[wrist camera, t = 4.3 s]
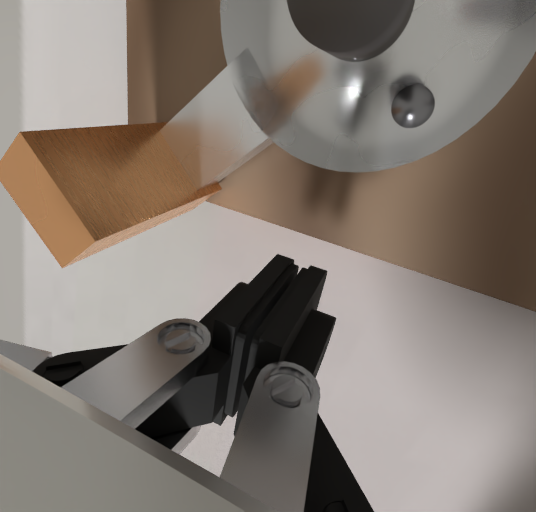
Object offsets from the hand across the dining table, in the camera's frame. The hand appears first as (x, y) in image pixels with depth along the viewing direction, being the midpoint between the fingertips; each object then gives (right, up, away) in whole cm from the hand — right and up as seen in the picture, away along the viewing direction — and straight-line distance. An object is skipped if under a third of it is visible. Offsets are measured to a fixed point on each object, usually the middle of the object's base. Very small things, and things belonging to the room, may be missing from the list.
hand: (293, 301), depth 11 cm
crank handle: (0, +7, 0) cm, 7 cm away
